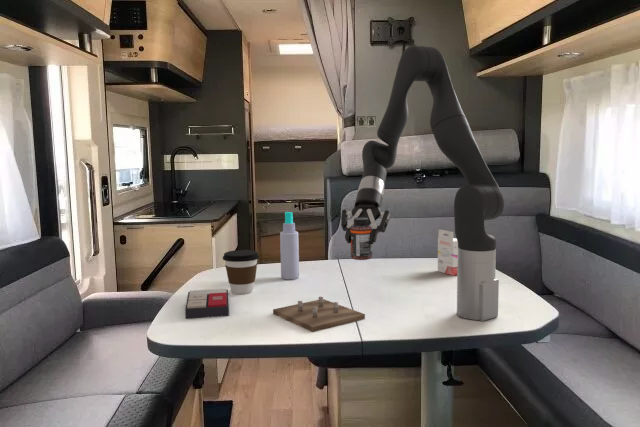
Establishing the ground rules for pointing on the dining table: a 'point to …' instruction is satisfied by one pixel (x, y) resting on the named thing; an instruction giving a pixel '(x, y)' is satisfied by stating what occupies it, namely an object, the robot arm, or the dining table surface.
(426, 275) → the dining table surface
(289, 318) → the pin tray
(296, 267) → the spray bottle
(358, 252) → the supplement bottle
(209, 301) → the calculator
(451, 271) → the ink cartridge box
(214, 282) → the dining table surface
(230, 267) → the coffee cup
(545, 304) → the dining table surface
